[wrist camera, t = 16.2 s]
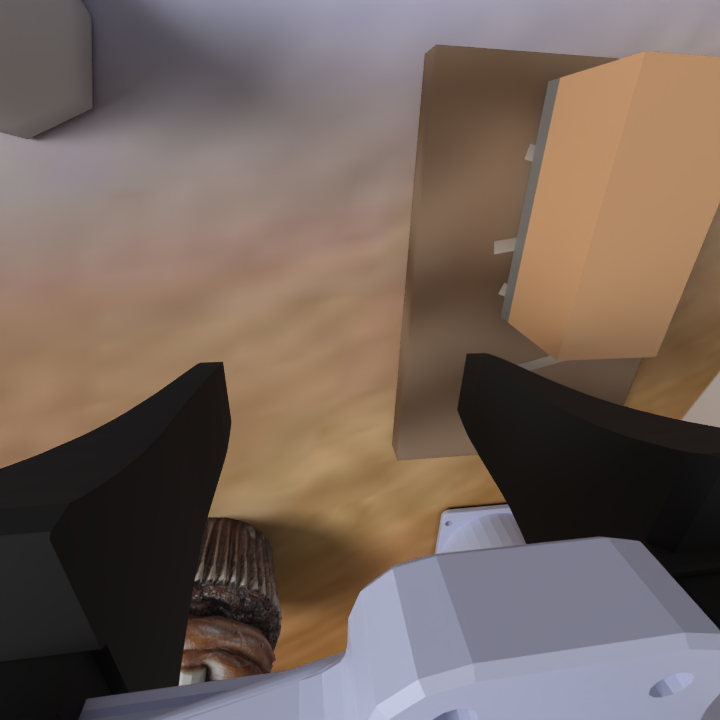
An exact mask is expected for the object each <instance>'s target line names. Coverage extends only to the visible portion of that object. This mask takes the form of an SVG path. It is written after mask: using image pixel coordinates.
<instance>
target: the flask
mask: <svg viewBox="0 0 720 720" xmlns="http://www.w3.org/2000/svg"><path fill="white" fill-rule="evenodd" d="M92 108H93V96H92V21H91V16H90V14H89V12H88V10H87V9H86V7H85V5H84V3H83V1H82V0H0V132H2V133H6V134H10V135H14V136H17V137H21V138H25V139H29V138H31V137H34V136H36V135H38V134H40V133H42V132H44V131H46V130H48V129H50V128H52V127H55V126H57V125H59V124H61V123H63V122H65V121H67V120H69V119H71V118H73V117H76V116H78V115H80V114H82V113H84V112H86V111H88V110H90V109H92Z"/></svg>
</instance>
